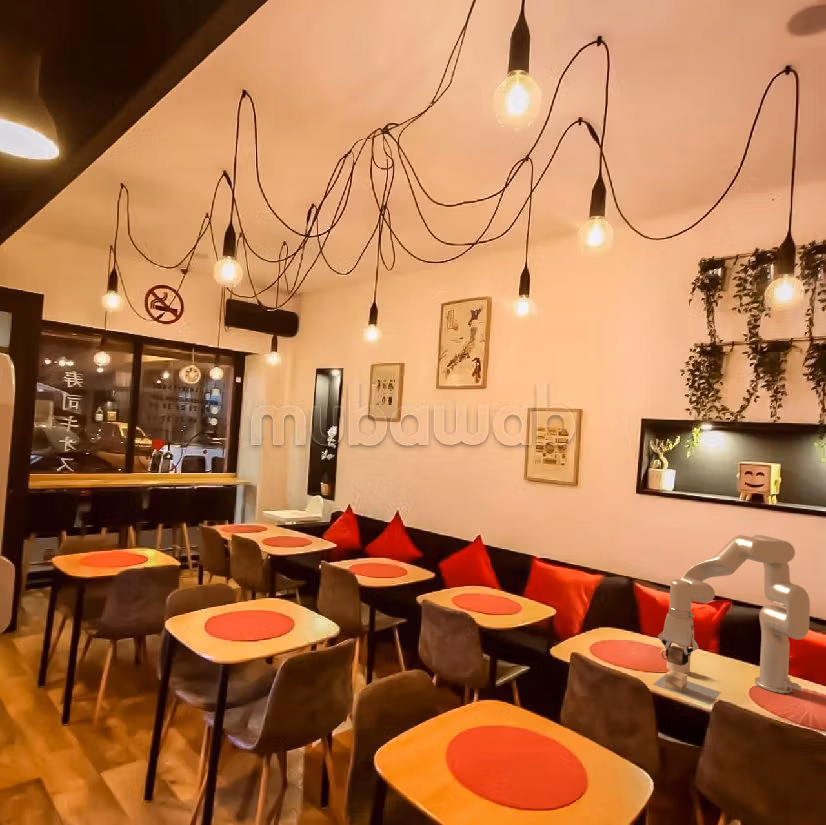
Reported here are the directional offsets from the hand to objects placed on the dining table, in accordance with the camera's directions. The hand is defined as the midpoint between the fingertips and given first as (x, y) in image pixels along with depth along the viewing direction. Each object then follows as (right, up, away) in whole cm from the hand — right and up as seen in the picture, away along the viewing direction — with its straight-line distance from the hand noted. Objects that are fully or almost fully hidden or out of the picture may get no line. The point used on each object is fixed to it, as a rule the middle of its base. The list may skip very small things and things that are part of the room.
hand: (676, 660), depth 214 cm
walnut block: (0, 0, 0) cm, 1 cm away
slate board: (+4, -11, 0) cm, 12 cm away
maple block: (0, -10, 0) cm, 10 cm away
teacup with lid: (+8, -13, +19) cm, 24 cm away
